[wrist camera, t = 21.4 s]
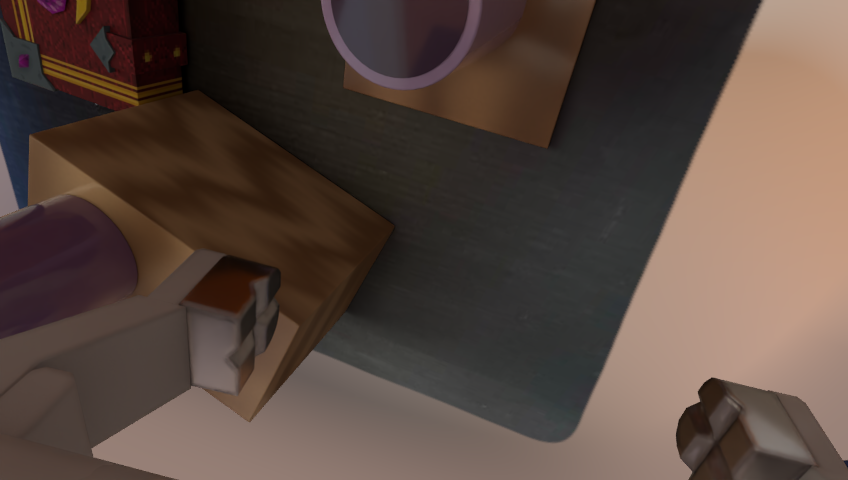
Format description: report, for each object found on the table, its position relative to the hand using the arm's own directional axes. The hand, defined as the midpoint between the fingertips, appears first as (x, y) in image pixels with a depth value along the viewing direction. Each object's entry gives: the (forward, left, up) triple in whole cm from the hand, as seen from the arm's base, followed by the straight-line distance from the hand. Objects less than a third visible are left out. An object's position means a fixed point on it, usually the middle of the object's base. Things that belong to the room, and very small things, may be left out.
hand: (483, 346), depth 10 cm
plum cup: (+8, +24, -9) cm, 27 cm away
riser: (+4, +23, -21) cm, 31 cm away
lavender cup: (+8, +3, -21) cm, 23 cm away
